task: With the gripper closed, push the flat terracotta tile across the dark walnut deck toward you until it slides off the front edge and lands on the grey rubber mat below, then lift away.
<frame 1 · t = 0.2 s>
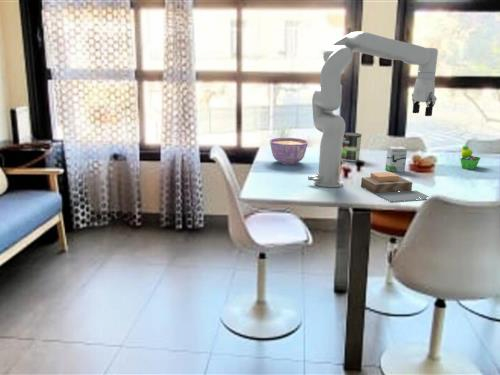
hand: (421, 114, 237), 31 cm above the table, tool pointing down, fingers open, 9 cm apart
fruit basket: (467, 167, 274), on the table
coffee can: (349, 159, 285), on the table
bowl of food: (287, 163, 273), on the table
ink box: (395, 170, 263), on the table
tile: (384, 178, 229), point 4 cm above the table, touching deck
deck: (385, 188, 228), on the table
mat: (403, 196, 217), on the table
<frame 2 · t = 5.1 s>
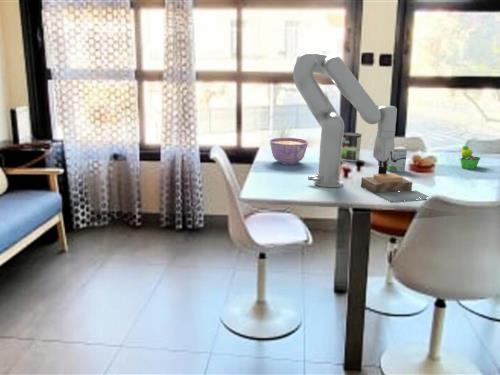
hand: (382, 175, 231), 5 cm above the table, tool pointing down, fingers closed
tile: (387, 180, 227), point 4 cm above the table, touching gripper
everything else where it was.
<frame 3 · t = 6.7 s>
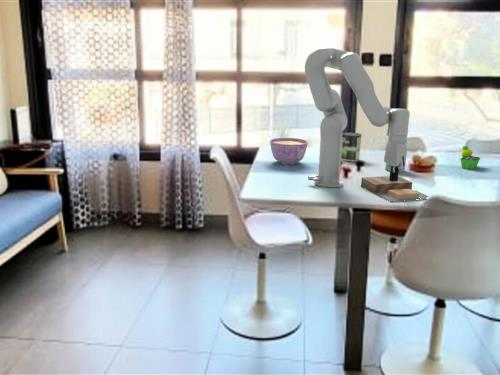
hand: (393, 180, 222), 5 cm above the table, tool pointing down, fingers closed
tile: (403, 191, 216), point 2 cm above the table, tilted 180°, touching mat
everything else where it was.
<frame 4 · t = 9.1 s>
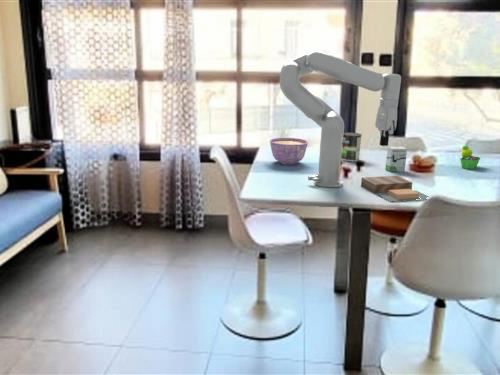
hand: (383, 145, 227), 19 cm above the table, tool pointing down, fingers closed
nothing on the table moved.
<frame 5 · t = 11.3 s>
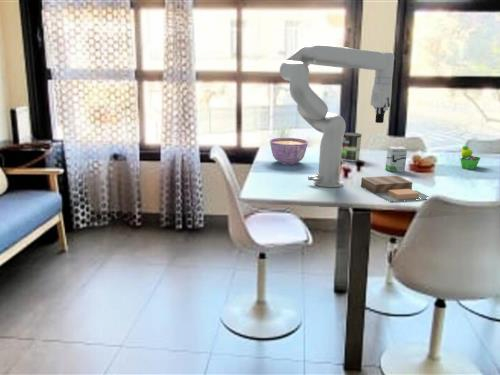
hand: (379, 122, 235), 27 cm above the table, tool pointing down, fingers closed
nothing on the table moved.
at the end: tile point 2.4 cm above the table; tile inside the target area (0.9 cm from its centre), point 2.4 cm above the table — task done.
